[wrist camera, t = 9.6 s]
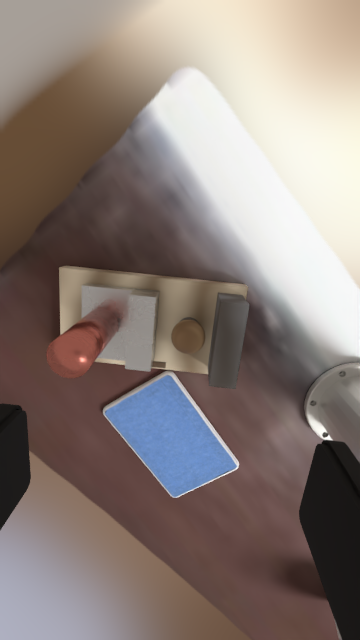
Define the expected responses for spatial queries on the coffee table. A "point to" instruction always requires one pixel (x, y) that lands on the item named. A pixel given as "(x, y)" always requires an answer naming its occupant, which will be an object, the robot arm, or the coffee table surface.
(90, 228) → the coffee table surface
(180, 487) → the tablet computer
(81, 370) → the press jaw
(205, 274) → the coffee table surface
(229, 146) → the coffee table surface
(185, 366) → the base
